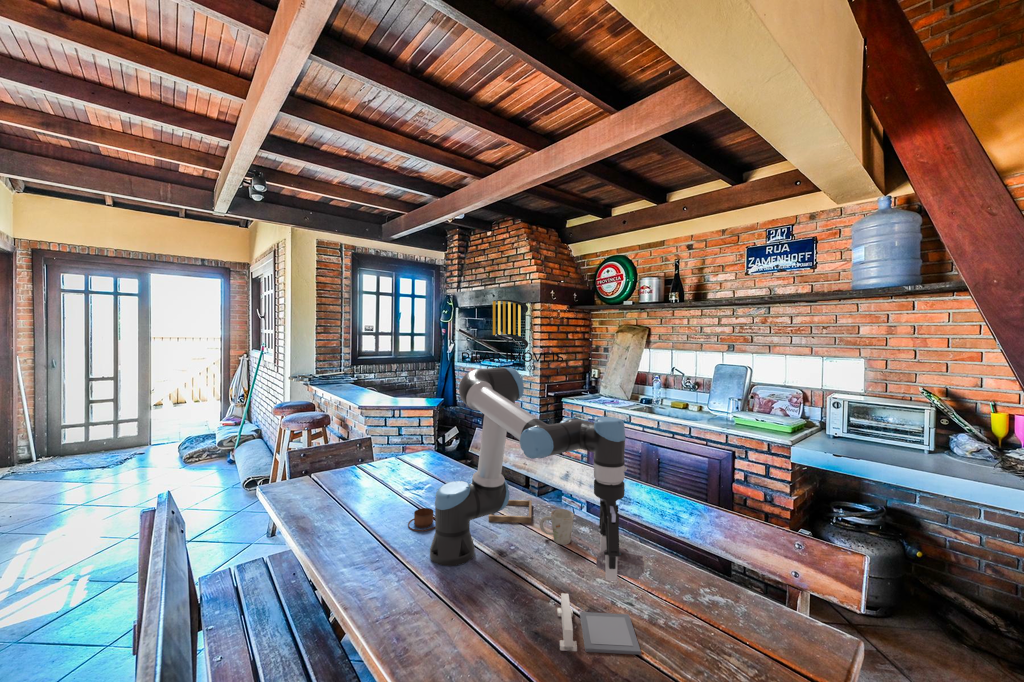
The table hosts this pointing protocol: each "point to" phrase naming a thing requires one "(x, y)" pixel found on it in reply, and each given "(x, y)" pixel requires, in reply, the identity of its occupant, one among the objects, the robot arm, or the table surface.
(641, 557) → the rock
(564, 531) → the mug
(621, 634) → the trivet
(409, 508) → the table surface
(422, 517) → the cup and saucer
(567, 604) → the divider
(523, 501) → the wooden frame
